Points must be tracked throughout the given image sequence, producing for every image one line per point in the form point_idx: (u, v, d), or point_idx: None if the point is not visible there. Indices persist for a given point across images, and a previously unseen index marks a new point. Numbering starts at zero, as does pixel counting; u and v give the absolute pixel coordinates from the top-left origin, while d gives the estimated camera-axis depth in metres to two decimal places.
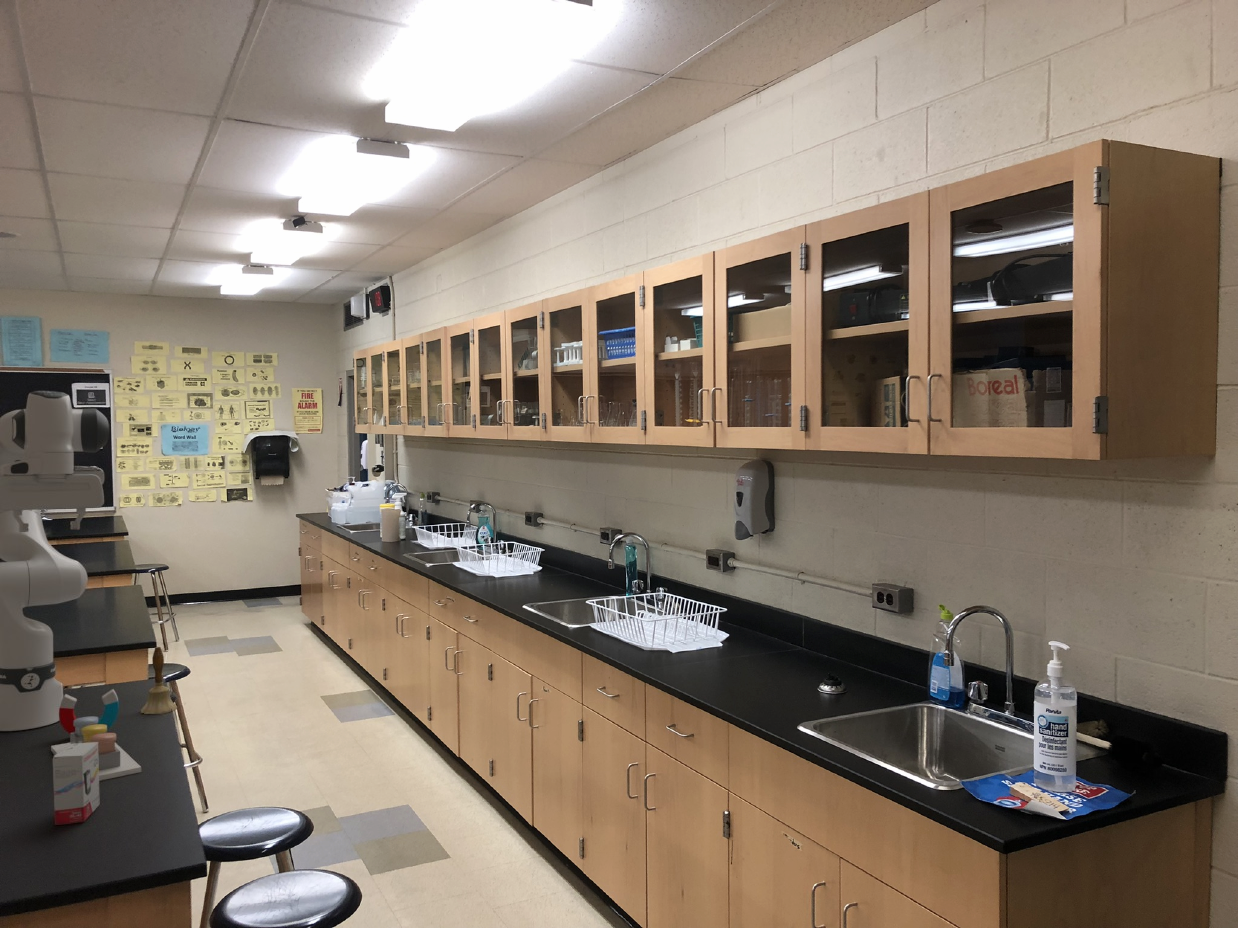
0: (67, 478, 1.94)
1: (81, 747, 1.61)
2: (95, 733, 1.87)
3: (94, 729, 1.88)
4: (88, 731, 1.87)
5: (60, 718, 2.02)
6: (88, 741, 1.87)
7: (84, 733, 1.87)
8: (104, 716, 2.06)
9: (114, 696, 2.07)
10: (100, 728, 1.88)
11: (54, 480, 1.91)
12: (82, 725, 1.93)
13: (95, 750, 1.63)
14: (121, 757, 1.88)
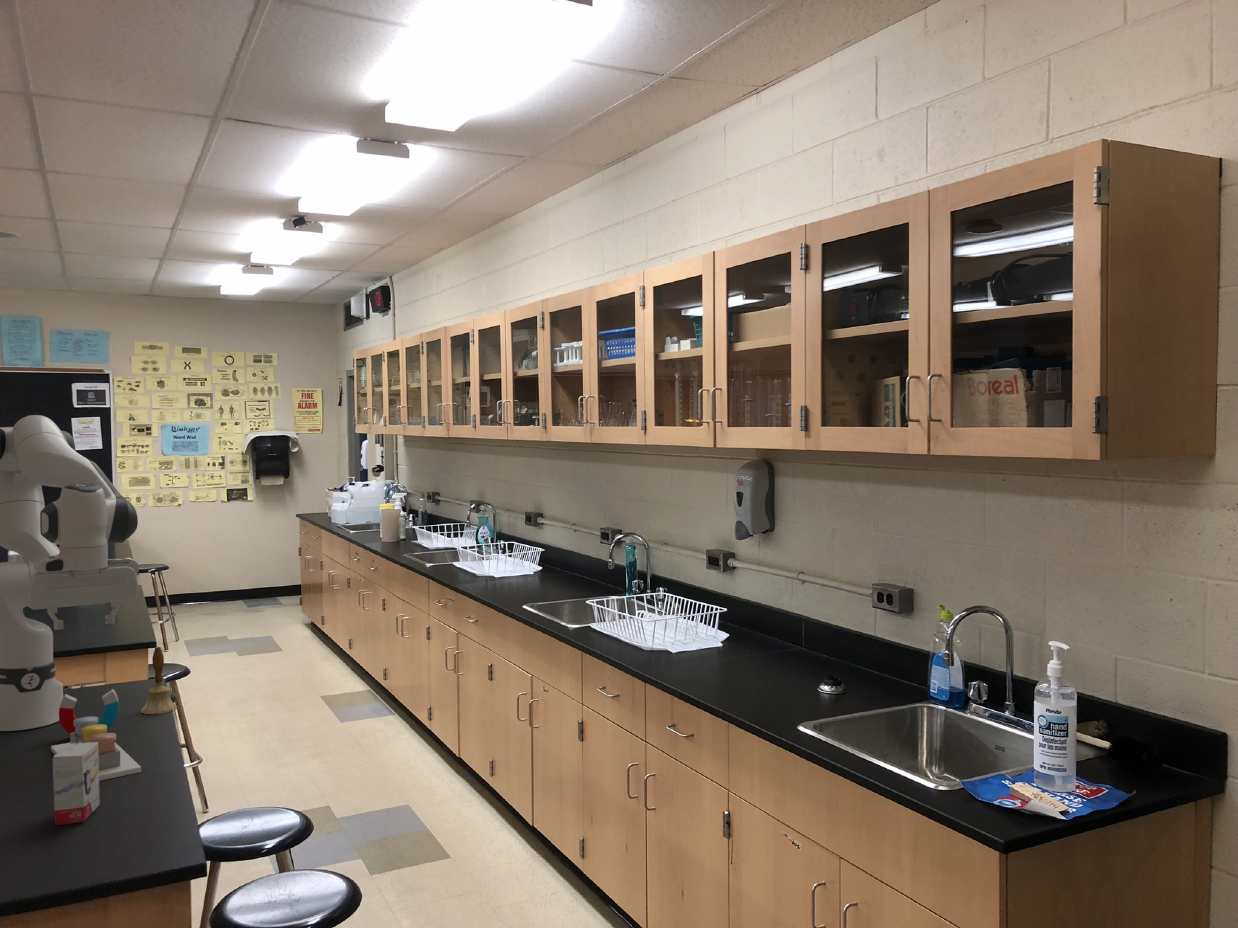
0: (102, 572, 1.91)
1: (81, 747, 1.61)
2: (95, 733, 1.87)
3: (94, 729, 1.88)
4: (88, 731, 1.87)
5: (60, 718, 2.02)
6: (88, 741, 1.87)
7: (84, 733, 1.87)
8: (104, 716, 2.06)
9: (114, 696, 2.07)
10: (100, 728, 1.88)
11: (89, 575, 1.88)
12: (82, 725, 1.93)
13: (95, 750, 1.63)
14: (121, 757, 1.88)
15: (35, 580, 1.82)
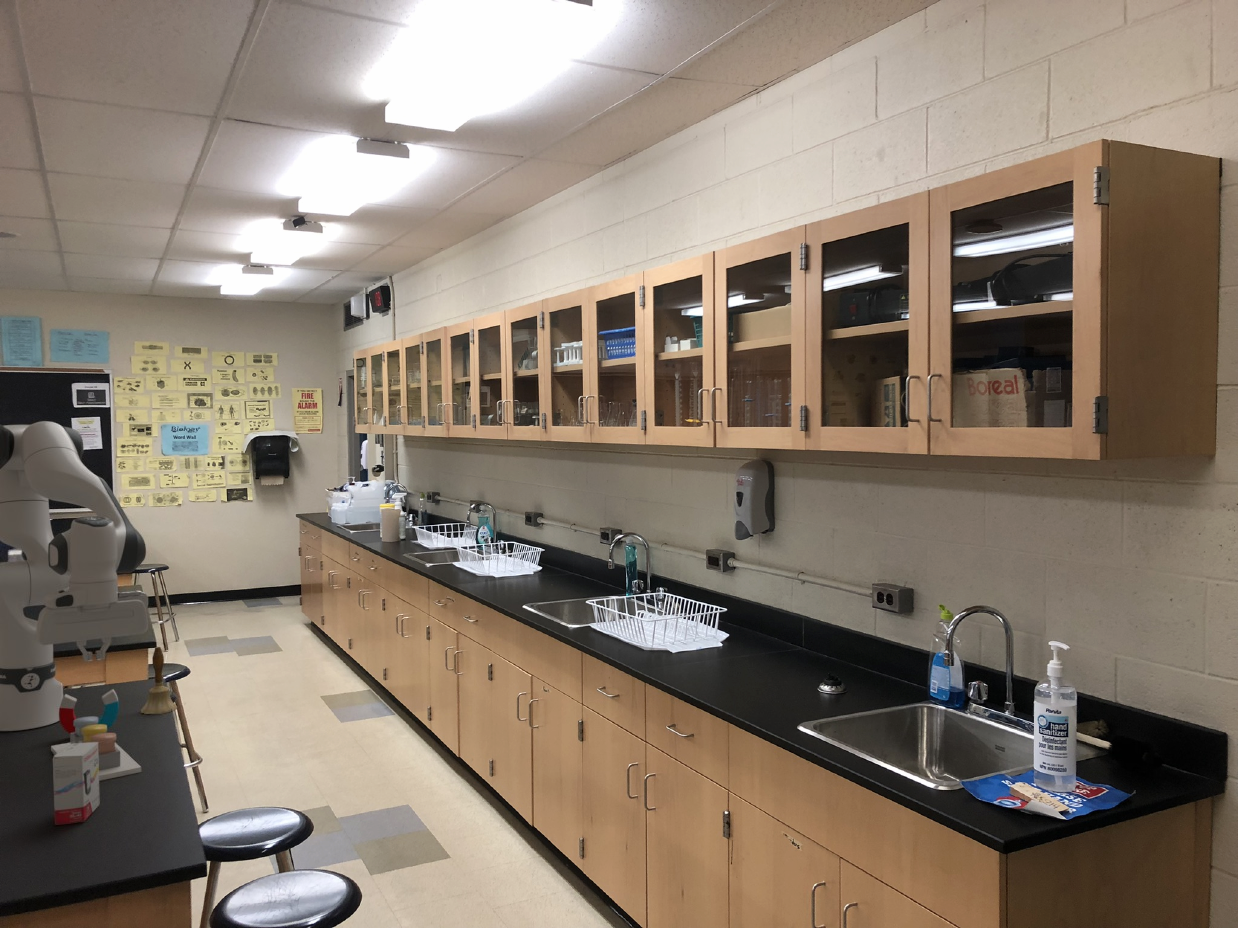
0: (111, 606, 1.90)
1: (81, 747, 1.61)
2: (95, 733, 1.87)
3: (94, 729, 1.88)
4: (88, 731, 1.87)
5: (60, 718, 2.02)
6: (88, 741, 1.87)
7: (84, 733, 1.87)
8: (104, 716, 2.06)
9: (114, 696, 2.07)
10: (100, 728, 1.88)
11: (99, 610, 1.87)
12: (82, 725, 1.93)
13: (95, 750, 1.63)
14: (121, 757, 1.88)
15: (45, 616, 1.81)
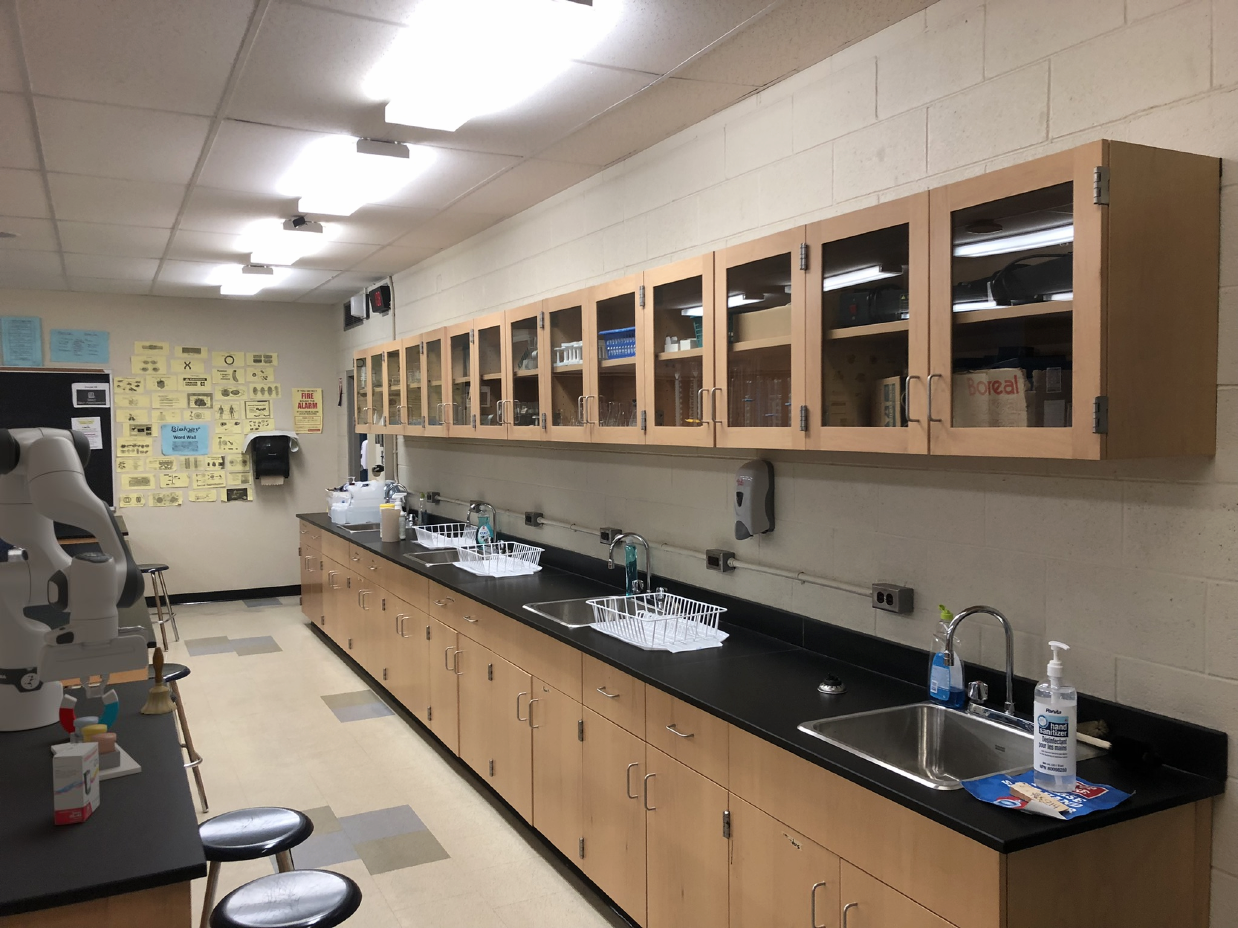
0: (112, 642, 1.89)
1: (81, 747, 1.61)
2: (95, 733, 1.87)
3: (94, 729, 1.88)
4: (88, 731, 1.87)
5: (60, 718, 2.02)
6: (88, 741, 1.87)
7: (84, 733, 1.87)
8: (104, 716, 2.06)
9: (114, 696, 2.07)
10: (100, 728, 1.88)
11: (99, 646, 1.87)
12: (82, 725, 1.93)
13: (95, 750, 1.63)
14: (121, 757, 1.88)
15: (45, 653, 1.81)
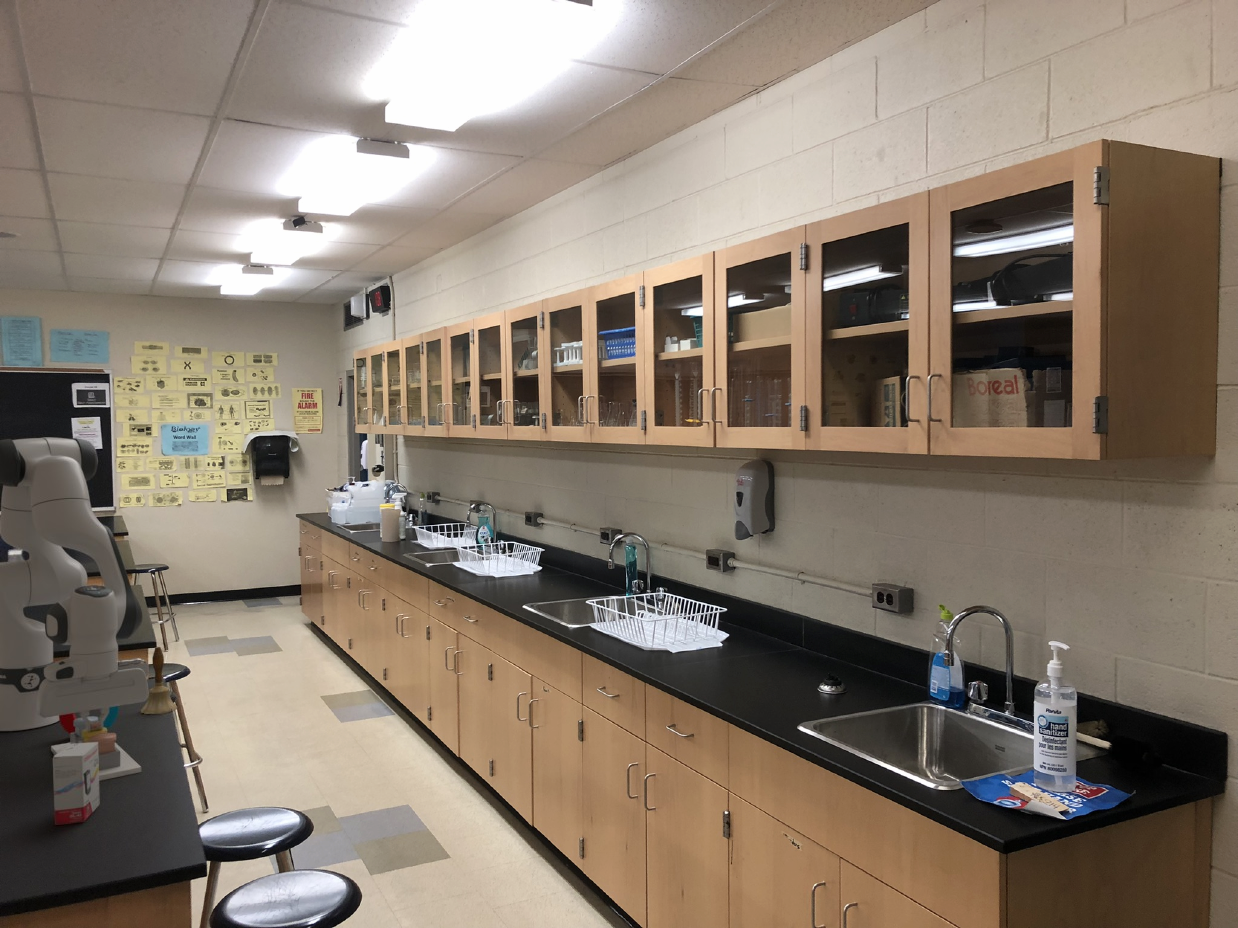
0: (112, 676, 1.89)
1: (81, 747, 1.61)
2: None
3: (94, 732, 1.88)
4: (88, 734, 1.87)
5: (60, 718, 2.02)
6: None
7: (84, 736, 1.87)
8: None
9: None
10: (100, 731, 1.88)
11: (99, 680, 1.87)
12: (82, 725, 1.93)
13: (95, 750, 1.63)
14: (121, 757, 1.88)
15: (45, 688, 1.81)
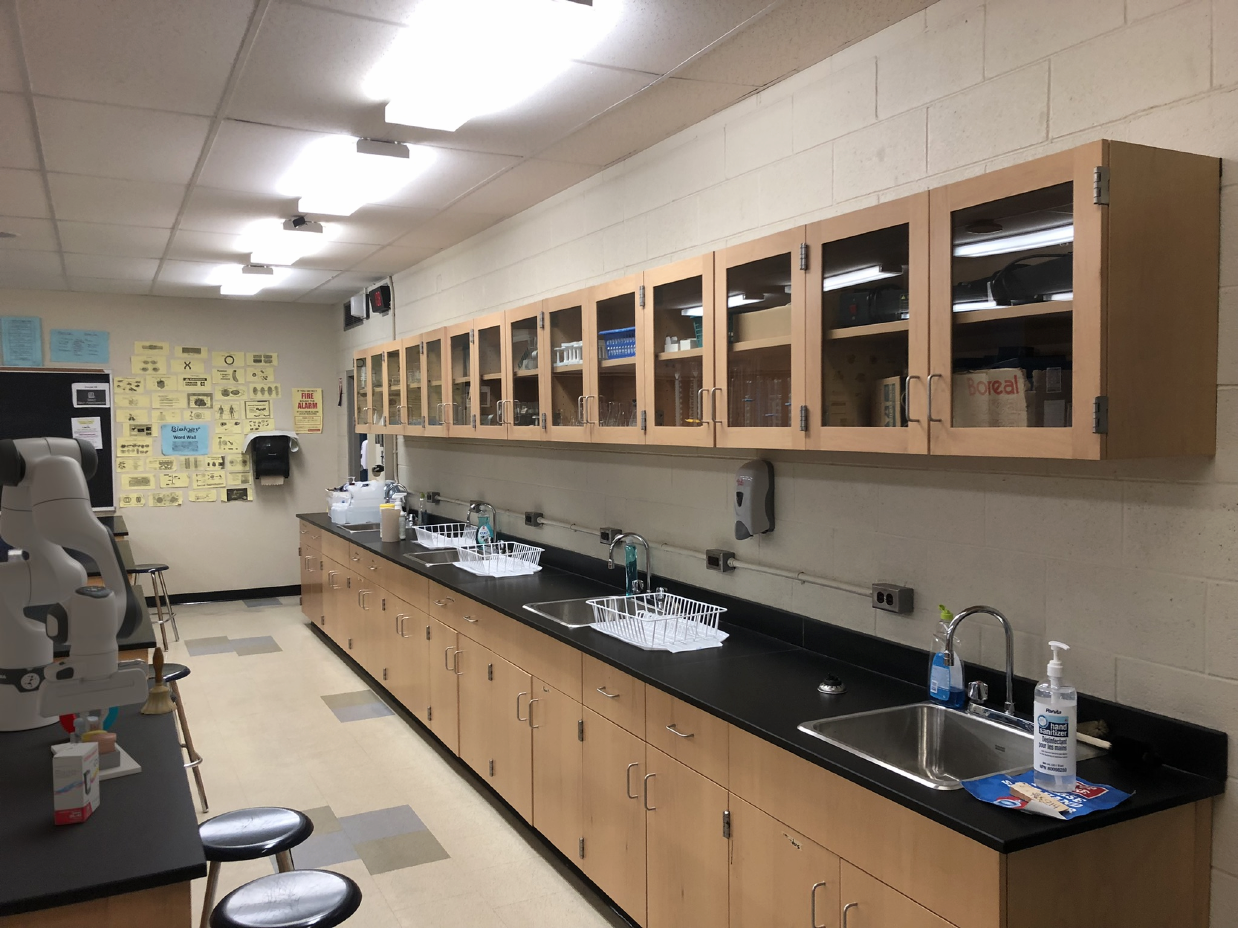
0: (112, 676, 1.90)
1: (81, 747, 1.61)
2: None
3: None
4: (88, 737, 1.87)
5: (60, 718, 2.02)
6: None
7: (84, 739, 1.87)
8: None
9: None
10: None
11: (99, 681, 1.87)
12: (82, 725, 1.93)
13: (95, 750, 1.63)
14: (121, 757, 1.88)
15: (45, 689, 1.81)
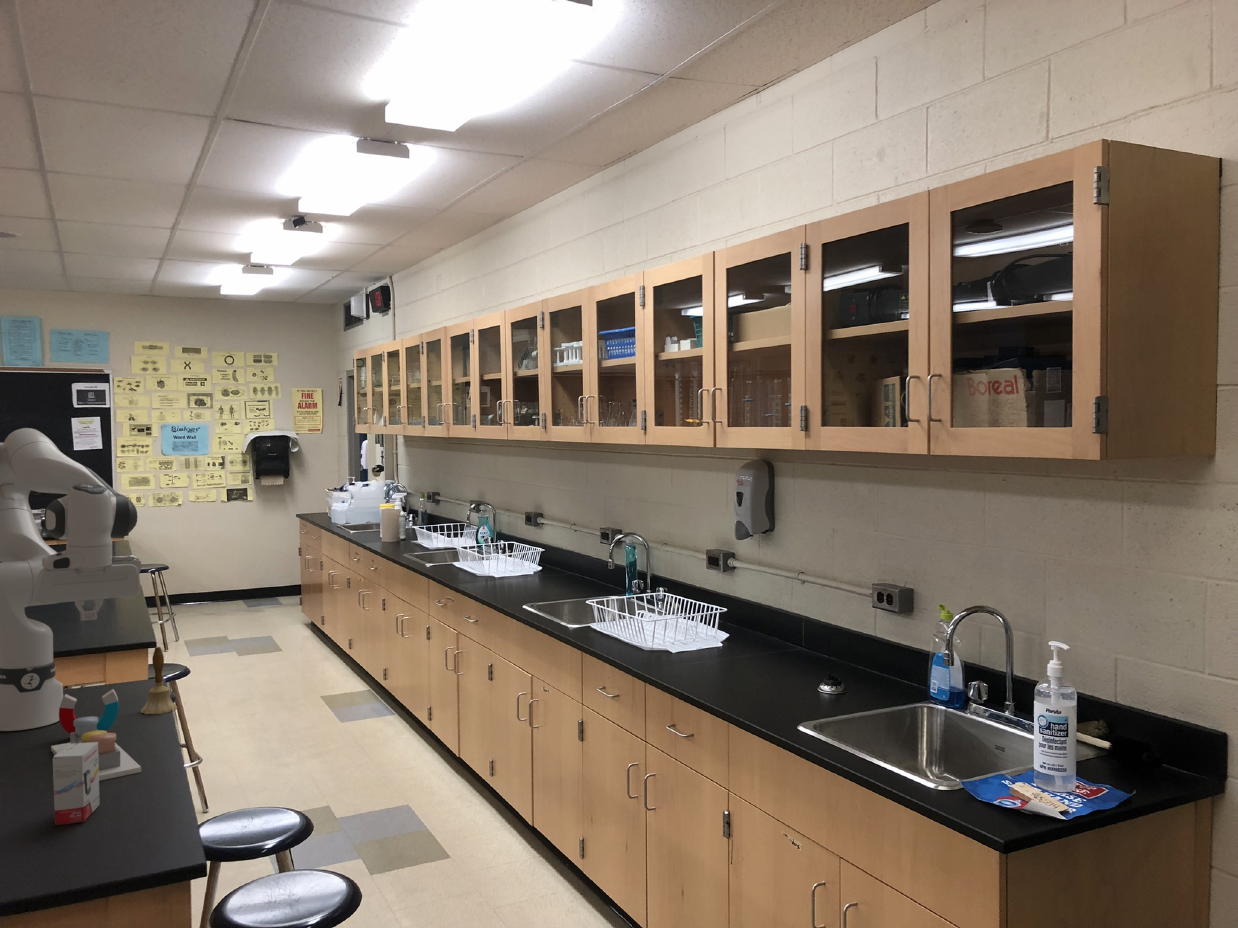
0: (106, 569, 2.00)
1: (81, 747, 1.61)
2: None
3: None
4: (88, 737, 1.87)
5: (60, 718, 2.02)
6: None
7: (84, 739, 1.87)
8: (104, 716, 2.06)
9: (114, 696, 2.07)
10: None
11: (94, 573, 1.98)
12: (82, 725, 1.93)
13: (95, 750, 1.63)
14: (121, 757, 1.88)
15: (43, 576, 1.92)
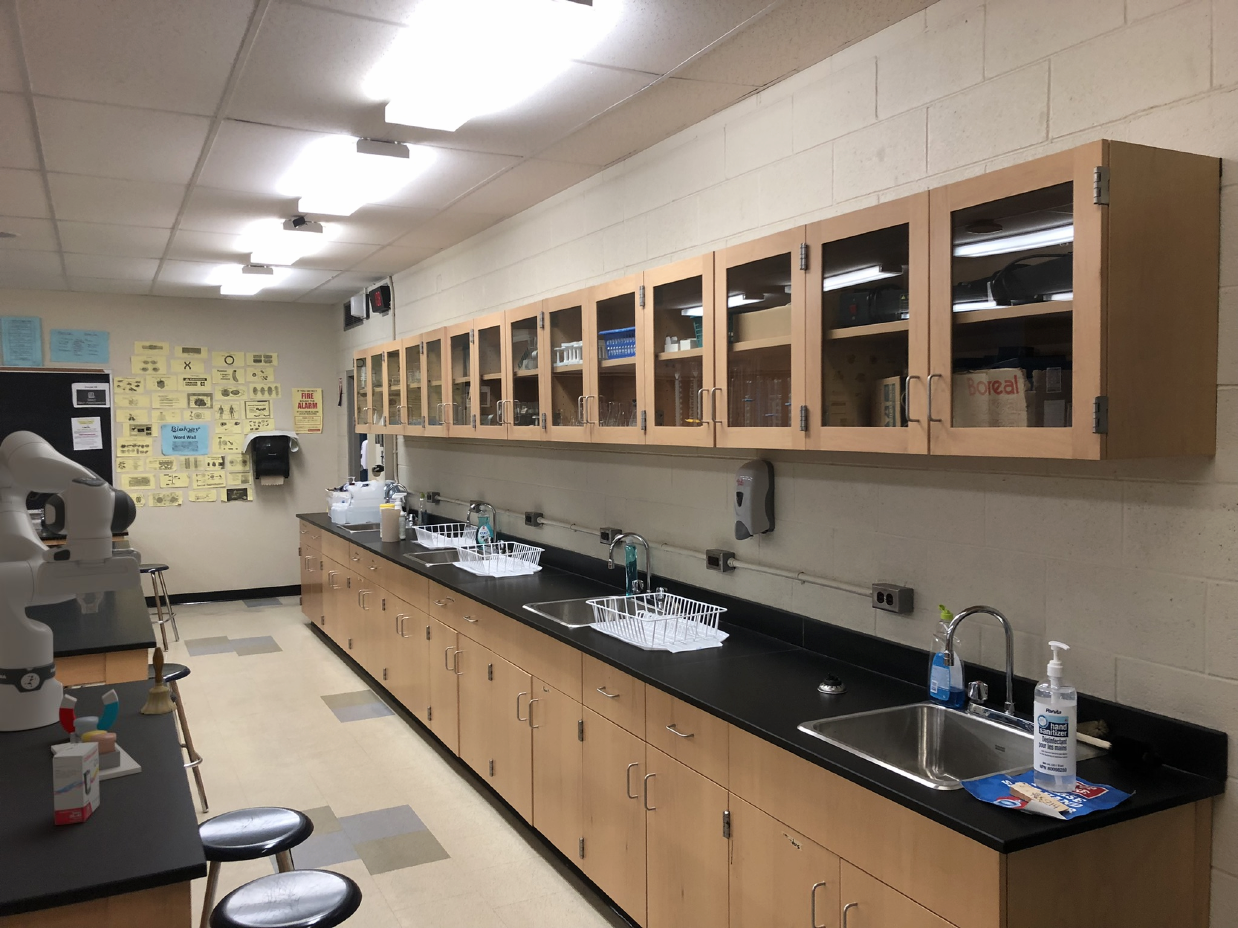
0: (106, 562, 2.01)
1: (81, 747, 1.61)
2: None
3: None
4: (88, 737, 1.87)
5: (60, 718, 2.02)
6: None
7: (84, 739, 1.87)
8: (104, 716, 2.06)
9: (114, 696, 2.07)
10: None
11: (94, 565, 1.99)
12: (82, 725, 1.93)
13: (95, 750, 1.63)
14: (121, 757, 1.88)
15: (43, 569, 1.93)
